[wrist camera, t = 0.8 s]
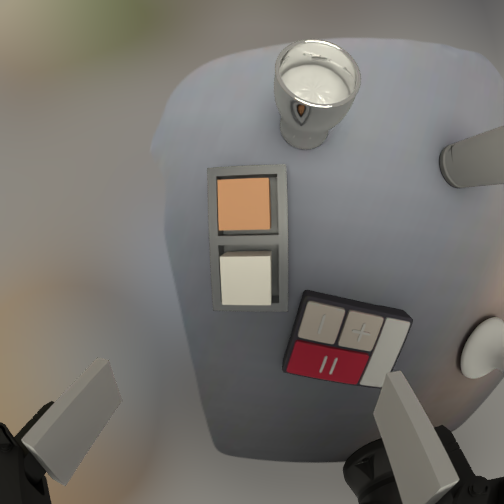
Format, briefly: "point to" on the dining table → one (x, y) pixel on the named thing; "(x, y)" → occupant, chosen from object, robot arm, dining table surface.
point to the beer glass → (313, 90)
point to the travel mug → (475, 160)
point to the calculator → (345, 340)
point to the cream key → (246, 277)
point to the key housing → (251, 235)
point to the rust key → (244, 204)
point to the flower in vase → (484, 349)
